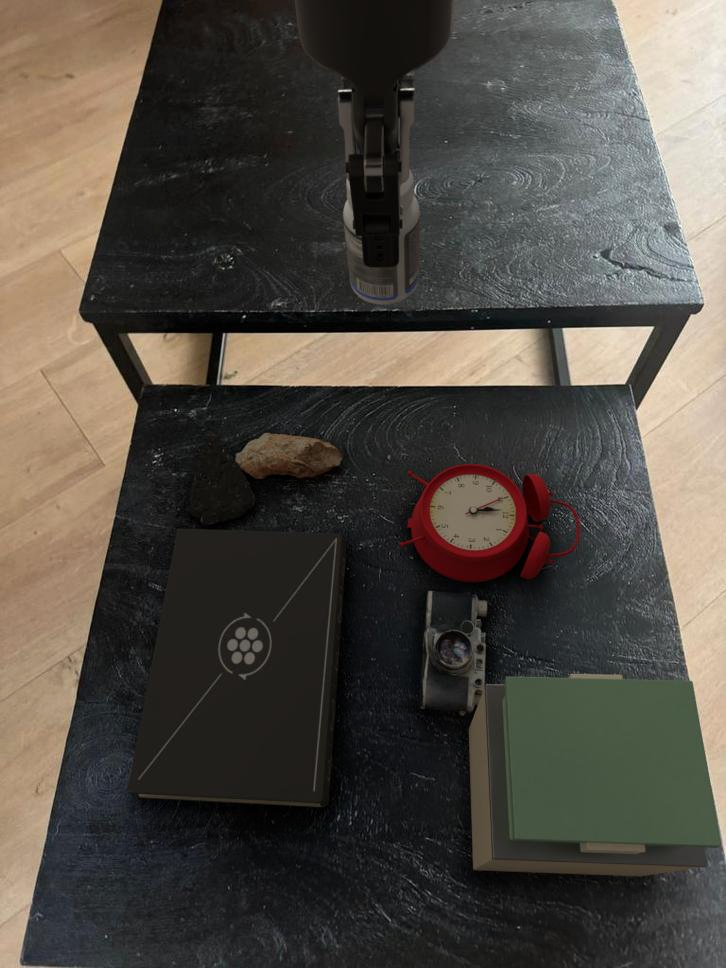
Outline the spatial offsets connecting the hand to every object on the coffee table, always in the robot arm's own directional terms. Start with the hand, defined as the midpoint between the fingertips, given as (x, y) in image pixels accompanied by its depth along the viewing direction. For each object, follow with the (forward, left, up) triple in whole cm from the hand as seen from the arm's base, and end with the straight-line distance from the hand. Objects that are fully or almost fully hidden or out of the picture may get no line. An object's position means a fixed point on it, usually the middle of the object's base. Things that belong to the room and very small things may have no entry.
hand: (382, 230), depth 48 cm
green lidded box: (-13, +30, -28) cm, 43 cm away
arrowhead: (+15, +7, -28) cm, 32 cm away
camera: (-5, +19, -28) cm, 34 cm away
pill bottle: (0, 0, -5) cm, 5 cm away
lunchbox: (-13, +30, -14) cm, 36 cm away
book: (+11, +20, -28) cm, 36 cm away
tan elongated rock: (+10, 0, -28) cm, 30 cm away
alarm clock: (-9, +7, -28) cm, 31 cm away
